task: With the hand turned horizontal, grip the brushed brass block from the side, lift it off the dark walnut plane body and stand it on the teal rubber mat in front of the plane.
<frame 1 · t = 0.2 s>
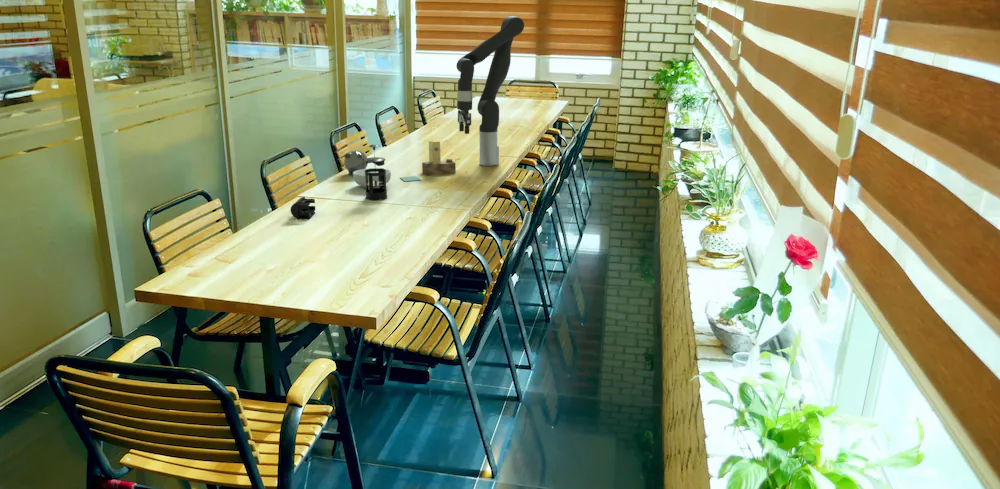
hand: (464, 132, 382), 17 cm above the table, tool pointing down, fingers open, 8 cm apart
cereal bowl: (372, 187, 348), on the table
brushed brass block: (434, 163, 372), point 5 cm above the table, touching plane body
mat: (410, 179, 361), on the table
french press: (377, 198, 329), on the table
end cap: (303, 216, 301), on the table
piggy bank: (356, 174, 371), on the table
plane body: (438, 172, 374), on the table
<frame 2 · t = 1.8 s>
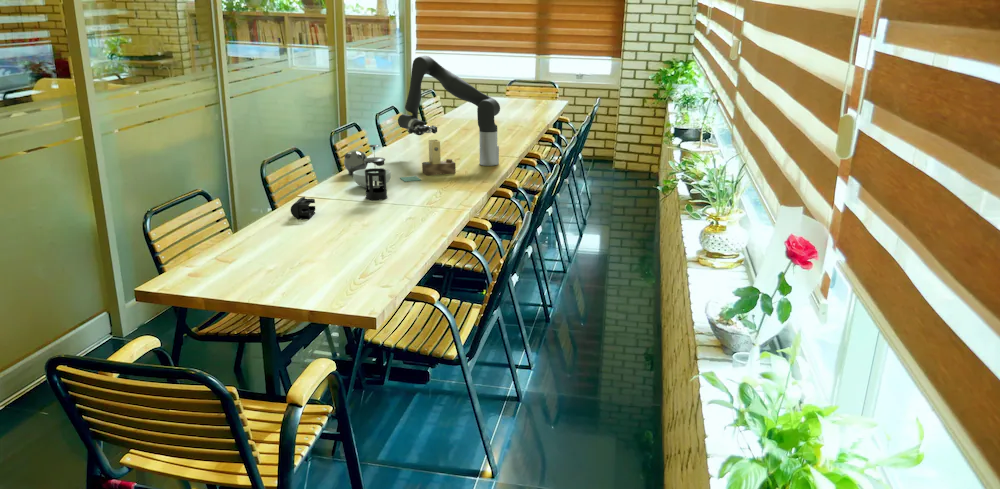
hand: (426, 132, 377), 18 cm above the table, tool horizontal, fingers open, 8 cm apart
nothing on the table moved.
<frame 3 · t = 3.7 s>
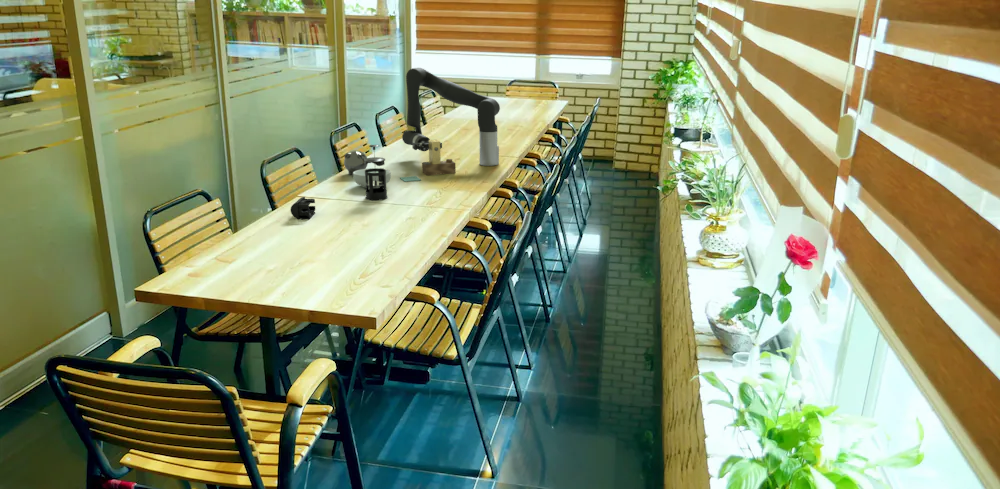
hand: (431, 148, 374), 12 cm above the table, tool horizontal, fingers open, 8 cm apart
nothing on the table moved.
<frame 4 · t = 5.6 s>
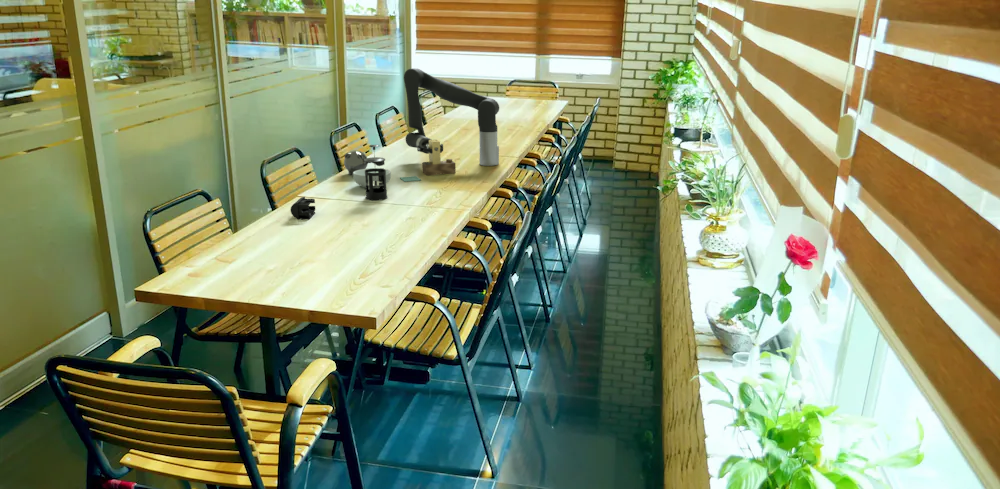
hand: (436, 151, 368), 11 cm above the table, tool horizontal, fingers closed on brushed brass block, 4 cm apart
brushed brass block: (434, 163, 372), point 5 cm above the table, touching gripper, plane body
everything else where it was.
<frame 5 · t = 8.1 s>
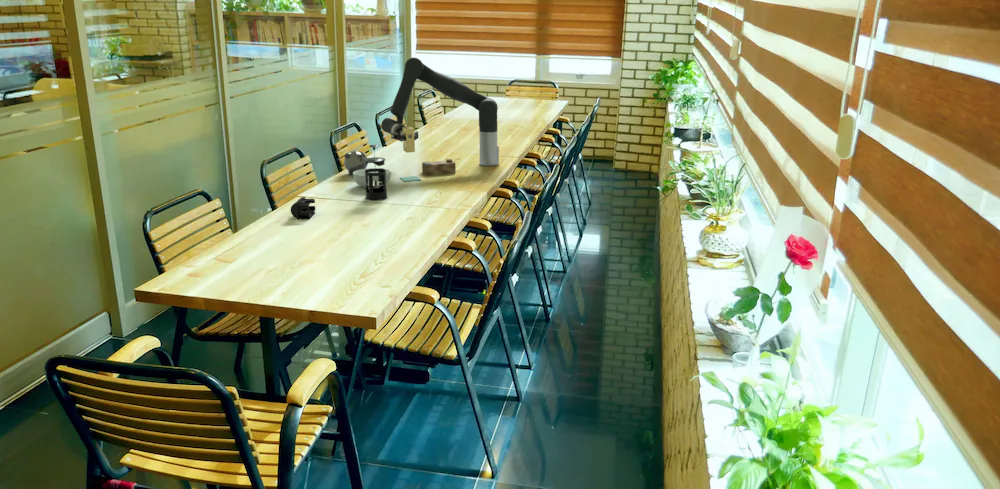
hand: (410, 138, 353), 20 cm above the table, tool horizontal, fingers closed on brushed brass block, 4 cm apart
brushed brass block: (409, 151, 357), point 13 cm above the table, touching gripper
everything else where it was.
when the fingers open (8 cm above the table, at t = 10.7 s): brushed brass block drops 2 cm, resting on mat.
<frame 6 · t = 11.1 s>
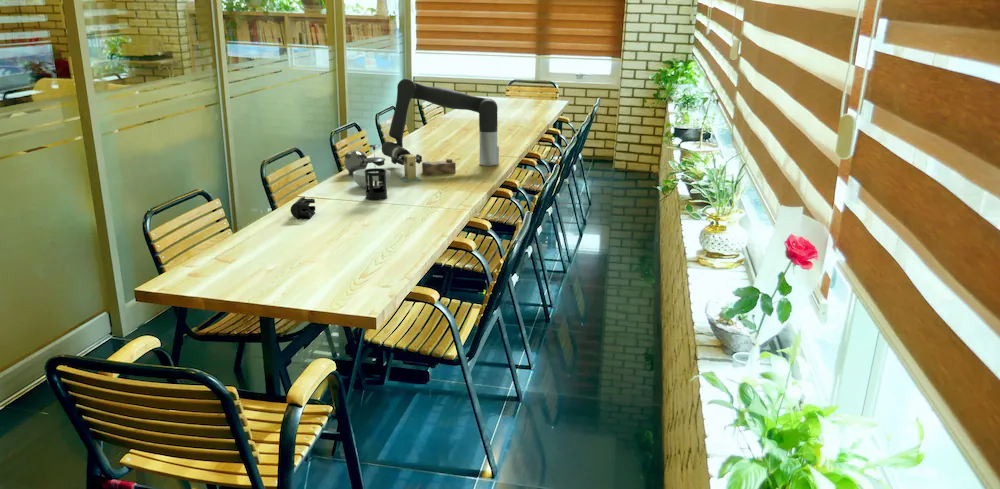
hand: (411, 162, 356), 9 cm above the table, tool horizontal, fingers open, 7 cm apart
brushed brass block: (410, 178, 361), resting on mat
everything else where it was.
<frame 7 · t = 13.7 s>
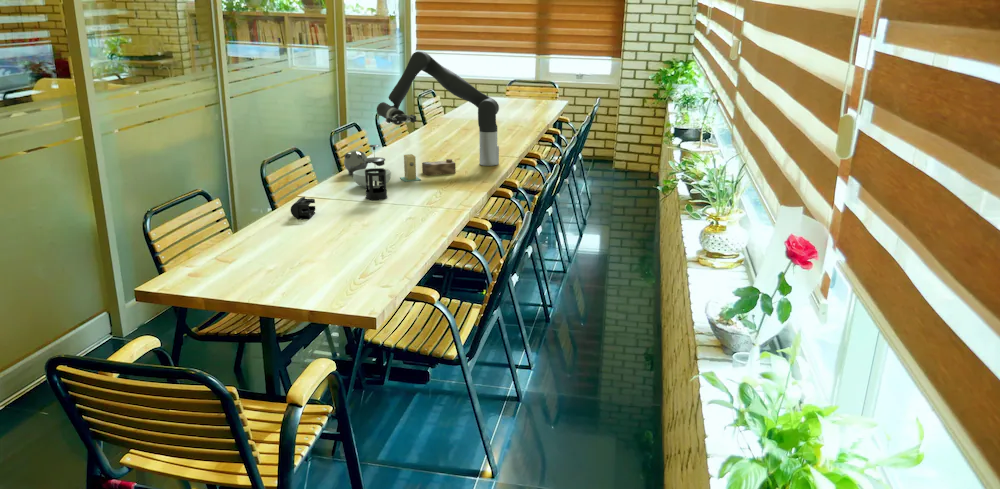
hand: (405, 121, 365), 26 cm above the table, tool horizontal, fingers open, 8 cm apart
nothing on the table moved.
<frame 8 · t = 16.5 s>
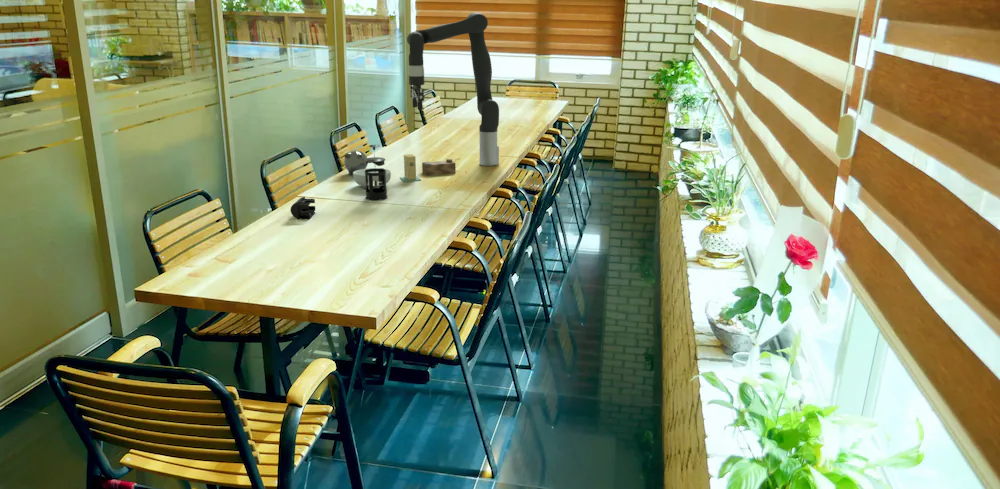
hand: (417, 108, 374), 30 cm above the table, tool pointing down, fingers open, 8 cm apart
nothing on the table moved.
at the end: brushed brass block inside the target area on the mat (0.1 cm from its centre), point 0.4 cm above the mat's base; brushed brass block tilted 0°; the gripper is holding nothing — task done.
